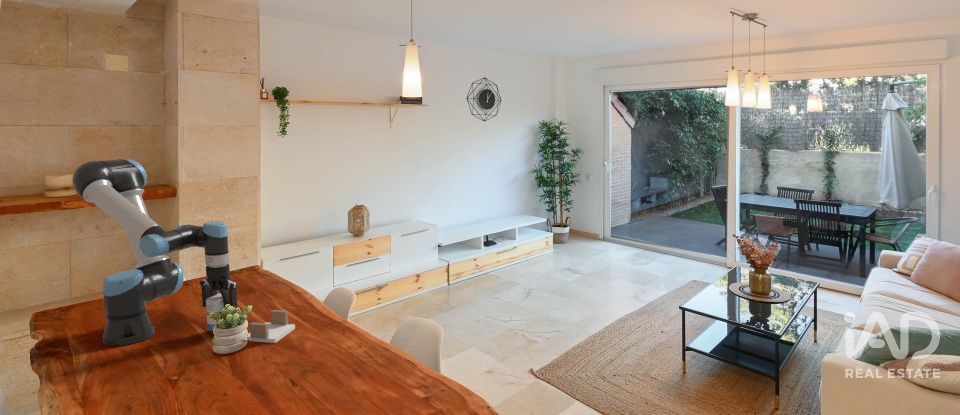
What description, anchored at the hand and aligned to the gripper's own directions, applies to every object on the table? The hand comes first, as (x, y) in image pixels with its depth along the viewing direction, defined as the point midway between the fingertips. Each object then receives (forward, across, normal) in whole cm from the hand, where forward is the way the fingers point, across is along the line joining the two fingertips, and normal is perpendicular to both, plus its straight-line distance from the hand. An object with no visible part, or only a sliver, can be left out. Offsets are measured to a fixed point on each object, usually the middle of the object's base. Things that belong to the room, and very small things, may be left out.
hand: (221, 325), depth 182 cm
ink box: (+1, 0, 0) cm, 1 cm away
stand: (+2, +19, +1) cm, 19 cm away
